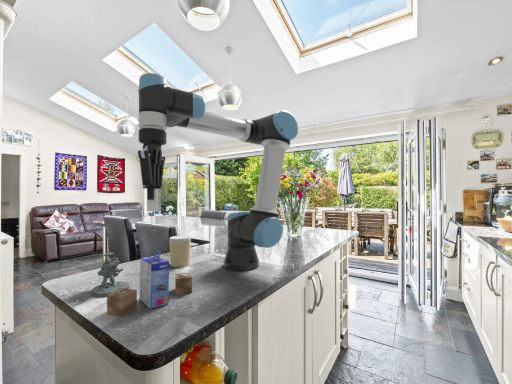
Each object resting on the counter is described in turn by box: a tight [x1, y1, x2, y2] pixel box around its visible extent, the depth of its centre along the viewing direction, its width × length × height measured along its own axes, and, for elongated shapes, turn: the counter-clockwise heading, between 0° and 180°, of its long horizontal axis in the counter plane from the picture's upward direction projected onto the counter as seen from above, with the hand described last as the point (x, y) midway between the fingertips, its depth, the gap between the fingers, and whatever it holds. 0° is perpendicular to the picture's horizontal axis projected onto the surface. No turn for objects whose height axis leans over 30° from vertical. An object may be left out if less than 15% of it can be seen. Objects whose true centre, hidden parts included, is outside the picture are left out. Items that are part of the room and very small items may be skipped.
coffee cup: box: [168, 235, 192, 268], centre depth 110 cm, size 9×9×12 cm
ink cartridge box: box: [138, 249, 170, 310], centre depth 73 cm, size 10×6×14 cm, turn 41°
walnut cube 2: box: [174, 271, 193, 296], centre depth 81 cm, size 5×5×5 cm
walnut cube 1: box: [106, 288, 138, 317], centre depth 68 cm, size 5×5×5 cm
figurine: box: [90, 251, 130, 298], centre depth 82 cm, size 11×11×12 cm
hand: (152, 211), depth 73 cm, fingers closed
